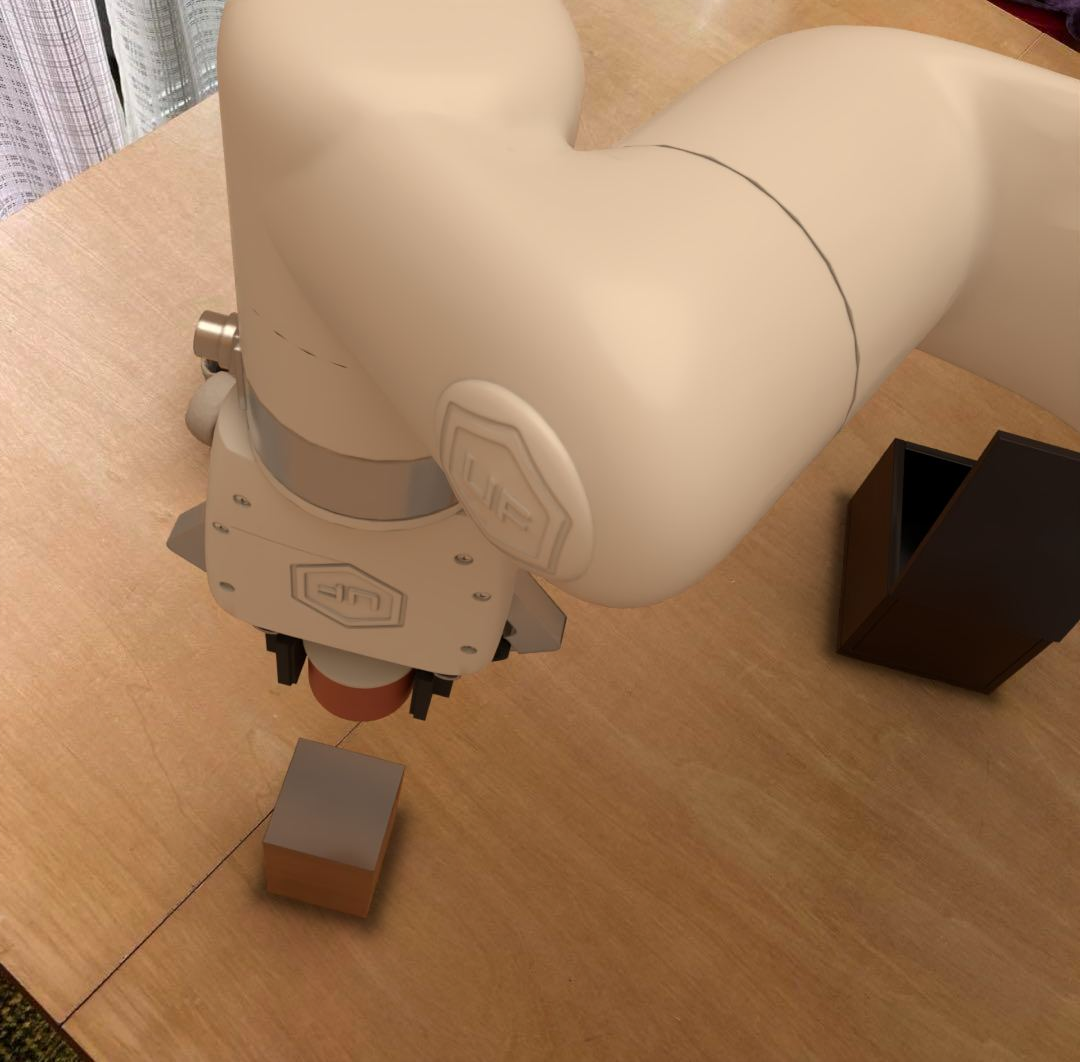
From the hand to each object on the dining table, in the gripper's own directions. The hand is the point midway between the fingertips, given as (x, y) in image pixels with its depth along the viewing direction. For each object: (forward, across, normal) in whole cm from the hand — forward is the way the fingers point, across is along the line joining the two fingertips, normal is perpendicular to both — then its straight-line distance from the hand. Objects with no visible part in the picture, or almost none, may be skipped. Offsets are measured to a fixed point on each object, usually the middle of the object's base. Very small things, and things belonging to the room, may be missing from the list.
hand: (362, 668), depth 48 cm
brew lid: (+11, +35, +25) cm, 44 cm away
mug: (+27, -15, +28) cm, 41 cm away
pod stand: (+27, -1, 0) cm, 27 cm away
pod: (0, 0, 0) cm, 0 cm away
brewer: (+27, +35, +30) cm, 53 cm away
